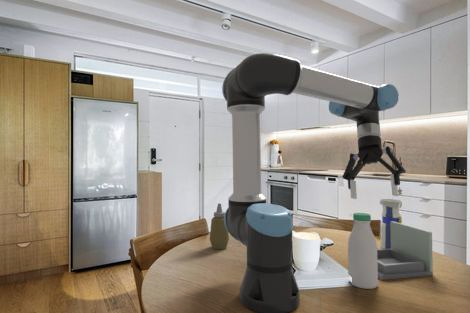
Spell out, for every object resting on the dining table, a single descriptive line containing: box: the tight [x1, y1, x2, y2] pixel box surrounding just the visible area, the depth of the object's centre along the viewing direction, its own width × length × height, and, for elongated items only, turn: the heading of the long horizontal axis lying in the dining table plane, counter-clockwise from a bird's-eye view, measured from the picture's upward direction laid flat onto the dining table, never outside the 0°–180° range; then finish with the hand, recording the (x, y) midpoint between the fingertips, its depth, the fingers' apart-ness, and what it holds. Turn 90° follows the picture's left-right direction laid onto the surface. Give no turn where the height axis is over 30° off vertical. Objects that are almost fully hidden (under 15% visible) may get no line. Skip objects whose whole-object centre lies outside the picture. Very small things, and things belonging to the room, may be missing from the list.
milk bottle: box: [347, 212, 379, 290], centre depth 79 cm, size 8×8×20 cm
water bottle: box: [379, 187, 403, 249], centre depth 111 cm, size 8×9×25 cm
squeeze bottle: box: [209, 203, 230, 250], centre depth 112 cm, size 8×8×18 cm
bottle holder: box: [377, 221, 434, 281], centre depth 90 cm, size 18×16×13 cm
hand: (373, 197), depth 91 cm, fingers open, 13 cm apart
